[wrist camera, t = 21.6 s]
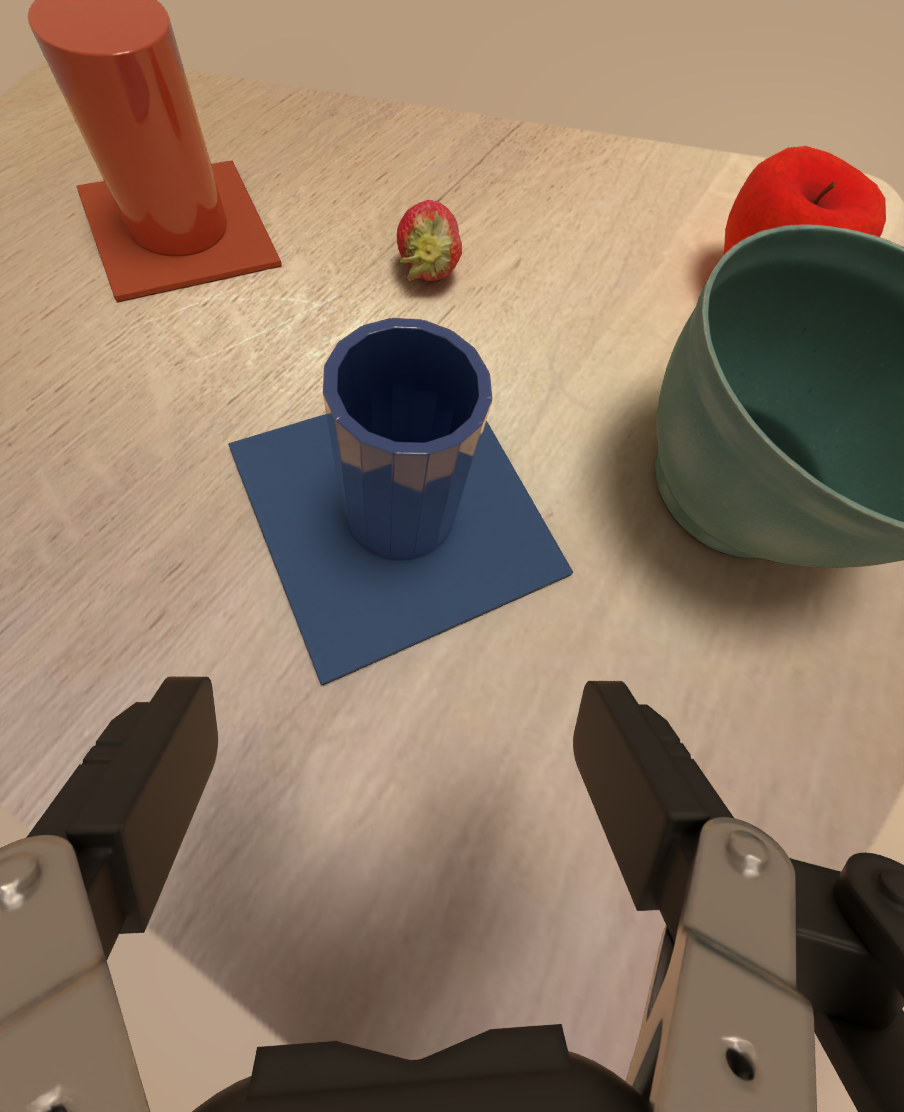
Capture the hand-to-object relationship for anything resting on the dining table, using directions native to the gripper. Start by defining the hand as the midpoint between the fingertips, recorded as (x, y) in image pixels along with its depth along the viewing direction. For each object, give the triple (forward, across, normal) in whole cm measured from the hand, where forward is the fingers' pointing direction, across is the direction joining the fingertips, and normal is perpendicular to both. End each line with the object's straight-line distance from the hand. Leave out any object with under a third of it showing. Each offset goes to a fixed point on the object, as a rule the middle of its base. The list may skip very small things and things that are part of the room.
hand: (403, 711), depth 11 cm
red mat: (+32, +15, -12) cm, 37 cm away
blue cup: (+18, 0, +1) cm, 18 cm away
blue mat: (+18, 0, +2) cm, 18 cm away
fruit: (+31, -2, -11) cm, 33 cm away
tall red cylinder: (+32, +15, -13) cm, 37 cm away
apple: (+32, -25, -12) cm, 42 cm away
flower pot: (+20, -20, 0) cm, 28 cm away
